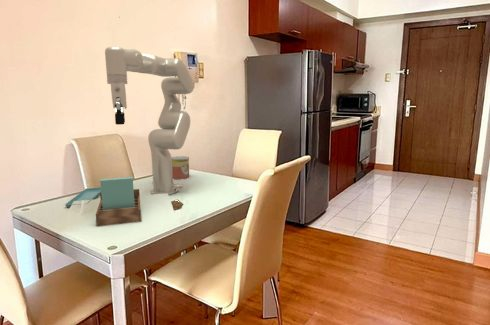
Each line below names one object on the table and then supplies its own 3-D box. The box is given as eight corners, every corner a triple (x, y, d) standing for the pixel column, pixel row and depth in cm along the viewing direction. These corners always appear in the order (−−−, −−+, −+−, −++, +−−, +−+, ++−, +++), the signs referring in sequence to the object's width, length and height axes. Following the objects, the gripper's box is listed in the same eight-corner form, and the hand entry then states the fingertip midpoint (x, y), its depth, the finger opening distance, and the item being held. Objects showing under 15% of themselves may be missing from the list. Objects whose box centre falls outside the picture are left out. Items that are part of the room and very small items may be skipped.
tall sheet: (135, 218, 131) (132, 177, 128) (135, 220, 129) (132, 178, 126) (104, 221, 128) (100, 179, 125) (103, 223, 126) (100, 180, 123)
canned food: (180, 180, 197) (179, 160, 195) (166, 178, 203) (165, 158, 201) (193, 177, 206) (192, 157, 204) (179, 174, 212) (178, 155, 210)
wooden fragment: (167, 219, 134) (166, 217, 134) (141, 218, 136) (141, 215, 136) (191, 201, 159) (191, 199, 159) (168, 200, 161) (168, 197, 161)
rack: (140, 209, 146) (139, 188, 145) (141, 225, 128) (140, 201, 126) (101, 213, 142) (100, 192, 140) (97, 230, 123) (95, 206, 122)
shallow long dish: (86, 208, 150) (86, 203, 149) (64, 209, 149) (64, 203, 148) (105, 192, 175) (104, 187, 175) (86, 193, 174) (85, 188, 174)
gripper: (126, 79, 130) (129, 124, 133) (127, 81, 146) (130, 121, 149) (105, 78, 128) (109, 125, 131) (108, 81, 144) (111, 122, 147)
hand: (120, 123), depth 140 cm, fingers open, 9 cm apart
